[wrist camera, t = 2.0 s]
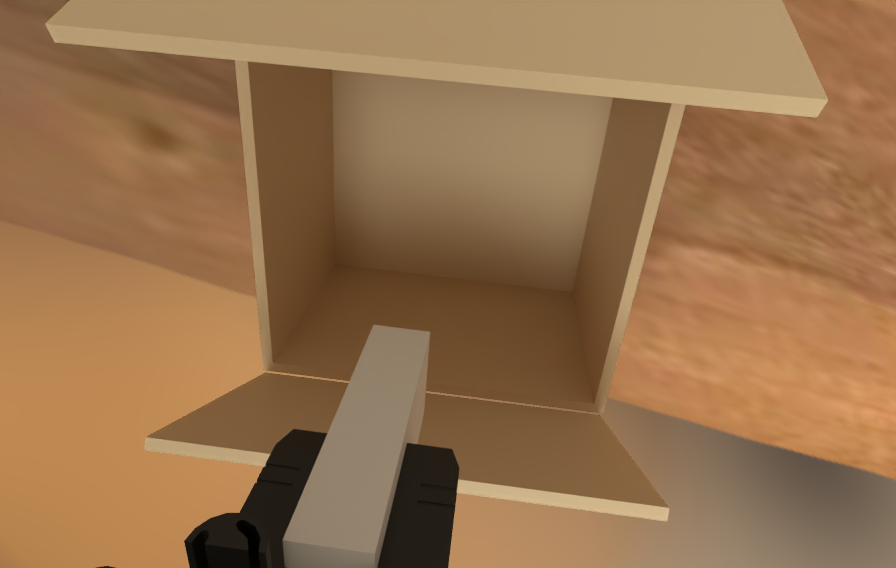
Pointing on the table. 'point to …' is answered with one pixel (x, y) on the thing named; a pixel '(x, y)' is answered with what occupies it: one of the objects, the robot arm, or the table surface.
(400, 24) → the near flap
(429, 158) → the carton
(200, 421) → the far flap
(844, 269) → the table surface
